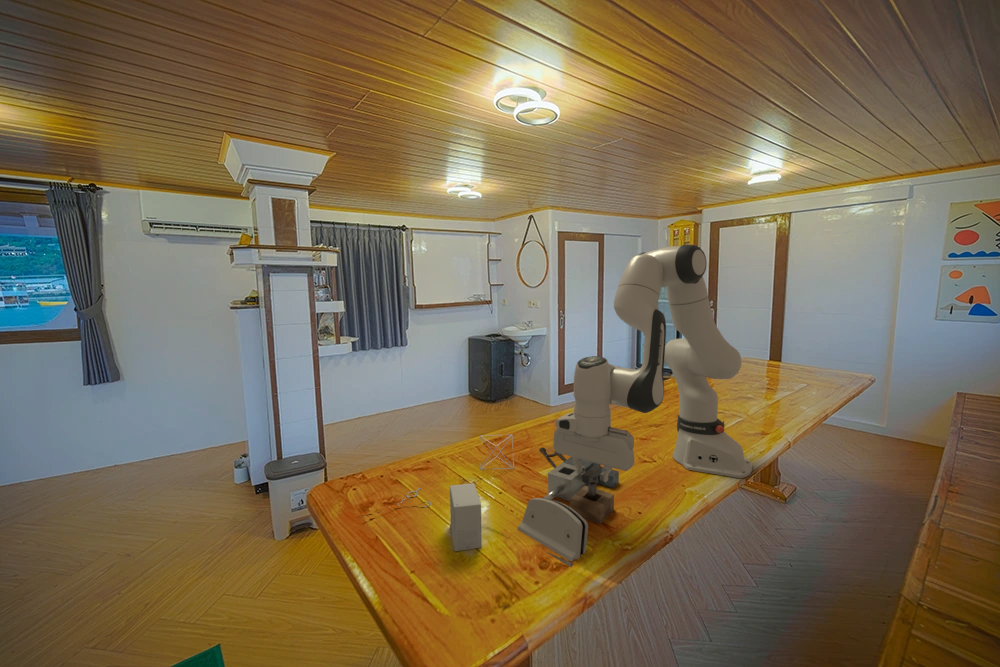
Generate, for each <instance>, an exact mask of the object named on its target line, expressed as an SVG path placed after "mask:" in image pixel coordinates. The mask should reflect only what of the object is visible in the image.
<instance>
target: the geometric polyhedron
mask: <svg viewBox="0 0 1000 667" xmlns="http://www.w3.org/2000/svg"><path fill="white" fill-rule="evenodd" d="M493 436H494V437H495V436H501V434H485V435H483V434H482V435H479V438H480V439H482V441H483V442H484V444H485V445H486V446H487V447H488V448H489V449H490V450H491V453H490V454H489V455H488V457H487V458H486V459H485V461H484V462H483V464H482V465H481V466H480V467H479V469H480V470H481V471H482V470H485V467H486V466H487V465H489V464H490V463H491V462H492V461H494V460H495V459H496V458H498V459H499V460H500V459H501V461H502V462H503V463H505V464H506V465H508V466H509V467H504V468H503V467H499V468H493V470H506V469H507V470H508V469H512V470H513V469H514V468H515V461H514V460H515V458H514V457H515V456H514V454H512V462H513V464H512V463H511V462H510V461H509V459H507V457H506V456H505V455H504V454H503V452H502V451H503V449H504V448H505V446H506V445H507V443H509V440H510V439H511V441H512V442H511V443H512V444H511V445H512V446H511V447H512V448H514V441H513V440H514V438H513V436H514V435H513V434H507V436H508V437H506V438H505V439H503V440H502V441H501V442H499V443H498V444H494V443H493V442H491V441H490V440H488V439H487V438H485V437H493ZM486 441H487V442H488V443H490V444H492V445H493V446H494V448H493V450H492V448H491V447H490V446H489V445H488V444H487V442H486ZM505 441H506V442H505ZM504 442H505V444H504V445H503V447H502V448H501V449H500V448H499V447H498V446H499V445H501V444H502V443H504ZM496 448H497V450H498V451H499V452H498V454H496V453H495V452H494V451H495V450H496ZM492 454H493V455H494V456H495V457H494V458H492V460H490V461H488V459H489V458H490V456H491V455H492ZM500 454H501V455H502V456H503V457H504V459H506V461H507V462H506V461H505V460H503V459H502V458H501V457H498V456H499V455H500ZM493 459H494V460H493ZM487 461H488V462H487Z"/></svg>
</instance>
